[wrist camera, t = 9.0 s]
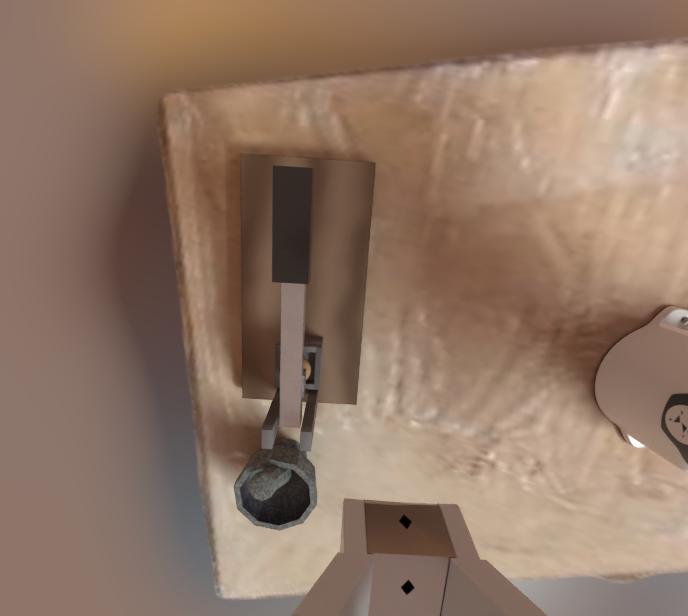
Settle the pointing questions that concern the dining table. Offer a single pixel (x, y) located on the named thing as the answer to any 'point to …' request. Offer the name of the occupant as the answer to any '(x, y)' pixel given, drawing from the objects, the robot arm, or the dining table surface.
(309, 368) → the nut
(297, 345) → the lever
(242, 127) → the dining table surface
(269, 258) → the press base
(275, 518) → the mortar and pestle
